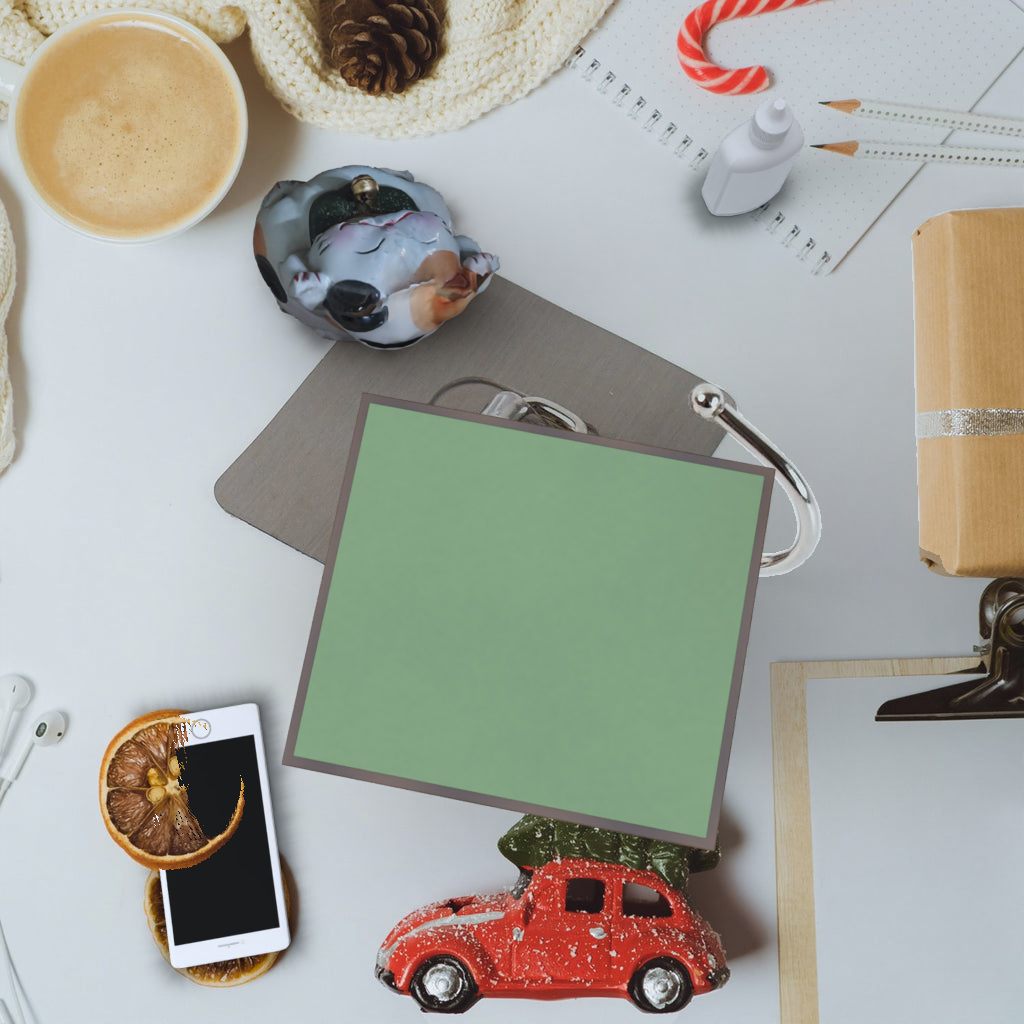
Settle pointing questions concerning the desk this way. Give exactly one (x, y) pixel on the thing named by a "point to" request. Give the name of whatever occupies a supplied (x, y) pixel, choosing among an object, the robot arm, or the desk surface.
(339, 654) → the cloth
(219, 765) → the cell phone
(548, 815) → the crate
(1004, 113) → the desk surface
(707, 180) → the eye dropper bottle
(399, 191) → the lucky cat figurine
